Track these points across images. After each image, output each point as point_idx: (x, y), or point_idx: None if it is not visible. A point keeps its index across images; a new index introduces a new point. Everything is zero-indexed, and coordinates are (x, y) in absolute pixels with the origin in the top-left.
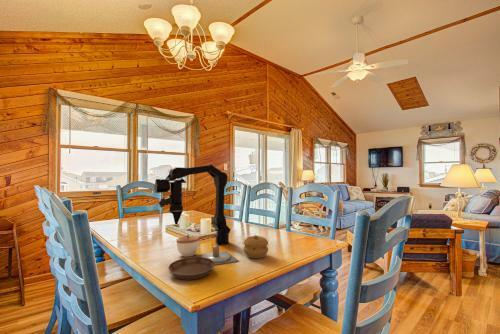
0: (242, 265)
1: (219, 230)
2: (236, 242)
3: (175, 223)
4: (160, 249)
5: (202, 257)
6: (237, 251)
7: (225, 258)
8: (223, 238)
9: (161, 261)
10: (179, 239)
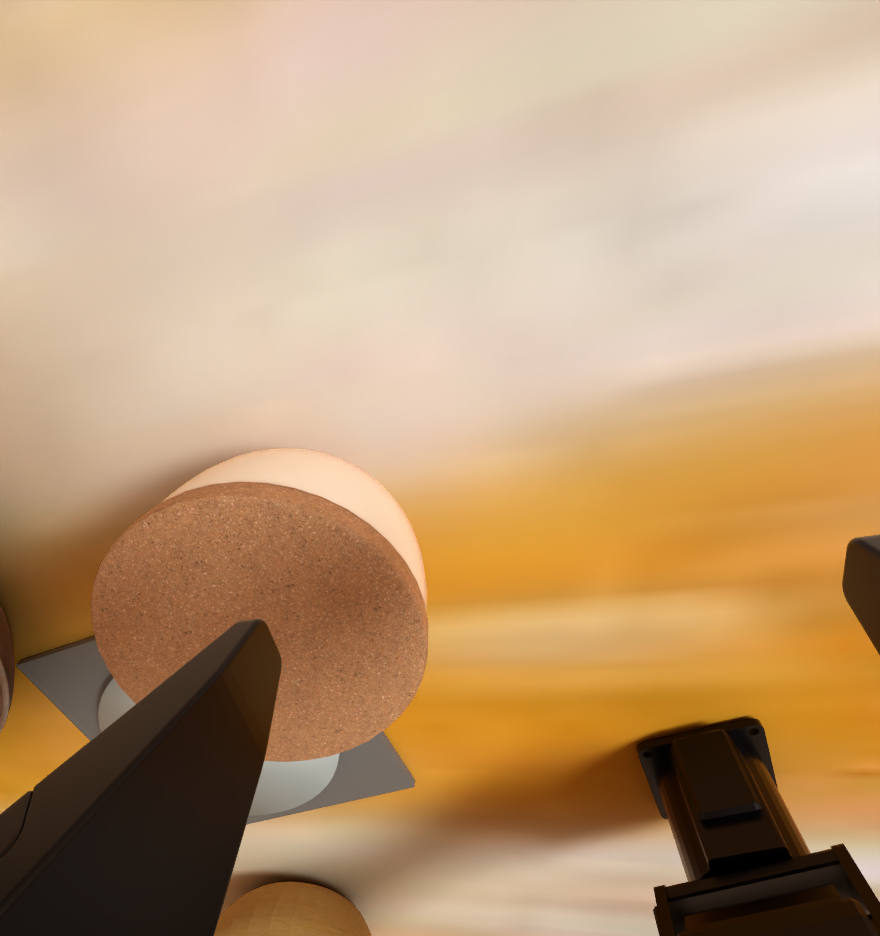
0: None
1: (794, 887)
2: None
3: (218, 652)
4: (588, 94)
5: (3, 703)
6: (423, 837)
7: None
8: (672, 830)
9: (62, 274)
10: (174, 549)
